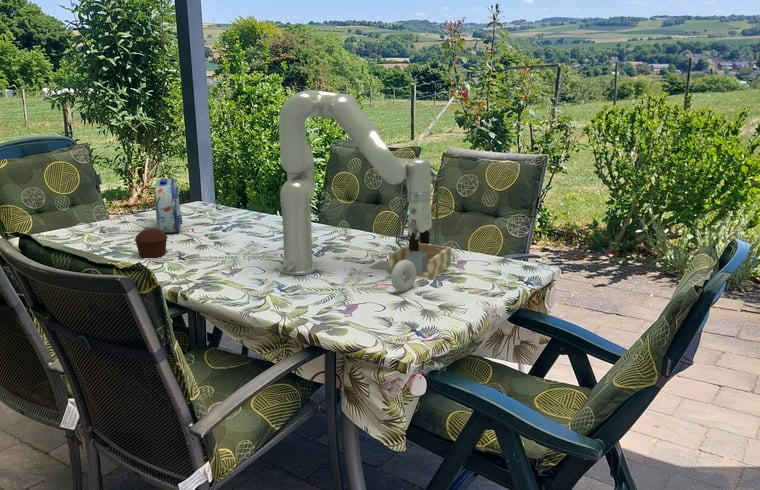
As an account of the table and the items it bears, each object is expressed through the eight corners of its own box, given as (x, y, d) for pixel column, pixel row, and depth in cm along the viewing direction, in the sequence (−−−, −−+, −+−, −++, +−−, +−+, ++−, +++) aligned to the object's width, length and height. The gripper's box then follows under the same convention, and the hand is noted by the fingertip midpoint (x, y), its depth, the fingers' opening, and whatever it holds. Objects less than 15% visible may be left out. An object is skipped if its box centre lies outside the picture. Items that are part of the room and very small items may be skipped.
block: (421, 274, 222) (421, 257, 220) (407, 272, 224) (407, 255, 222) (426, 270, 226) (427, 253, 224) (413, 268, 228) (413, 251, 226)
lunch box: (183, 235, 274) (179, 182, 268) (156, 237, 271) (152, 184, 265) (181, 221, 299) (178, 172, 294) (157, 223, 296) (153, 173, 291)
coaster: (393, 272, 226) (393, 270, 226) (369, 269, 229) (369, 267, 229) (404, 265, 234) (404, 263, 233) (380, 262, 237) (380, 260, 237)
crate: (431, 281, 216) (432, 260, 214) (389, 275, 222) (389, 255, 221) (450, 266, 233) (451, 247, 231) (410, 261, 239) (410, 242, 237)
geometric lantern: (408, 247, 258) (412, 156, 249) (445, 253, 250) (450, 160, 241) (387, 256, 245) (391, 160, 236) (425, 263, 237) (430, 165, 228)
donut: (410, 286, 212) (410, 255, 209) (418, 288, 209) (419, 257, 207) (388, 293, 205) (388, 262, 202) (396, 296, 202) (396, 264, 200)
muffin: (155, 261, 238) (152, 234, 235) (129, 258, 241) (126, 231, 239) (175, 252, 249) (173, 226, 246) (150, 250, 252) (148, 224, 250)
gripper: (420, 202, 209) (420, 254, 213) (438, 192, 224) (439, 241, 229) (398, 200, 212) (399, 252, 216) (418, 191, 227) (418, 240, 232)
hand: (419, 247), depth 223 cm, fingers open, 9 cm apart
